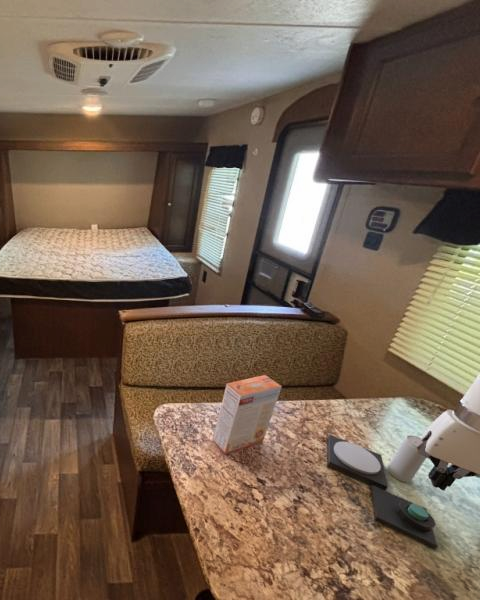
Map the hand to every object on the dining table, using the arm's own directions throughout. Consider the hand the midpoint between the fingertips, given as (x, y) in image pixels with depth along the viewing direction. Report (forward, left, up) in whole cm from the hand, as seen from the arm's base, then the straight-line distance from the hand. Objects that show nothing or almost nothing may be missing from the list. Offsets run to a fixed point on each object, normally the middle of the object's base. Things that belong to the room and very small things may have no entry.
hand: (436, 483), depth 68 cm
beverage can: (0, -15, -13) cm, 20 cm away
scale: (+10, -12, -13) cm, 20 cm away
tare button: (0, 0, -10) cm, 10 cm away
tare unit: (+2, 0, -13) cm, 13 cm away
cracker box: (+38, 0, -13) cm, 40 cm away
